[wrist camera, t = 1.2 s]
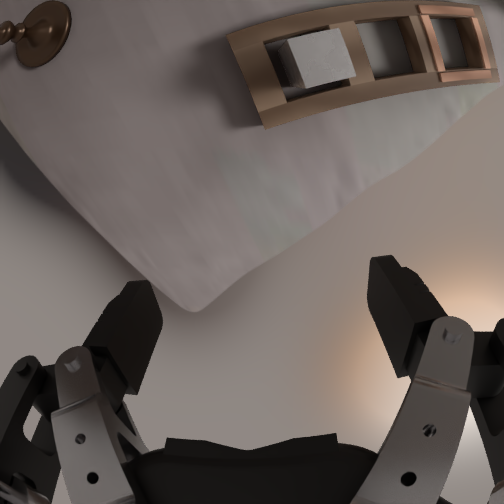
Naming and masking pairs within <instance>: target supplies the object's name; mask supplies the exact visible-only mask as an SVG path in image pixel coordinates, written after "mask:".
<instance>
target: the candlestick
mask: <svg viewBox="0 0 504 504" xmlns="http://www.w3.org/2000/svg"><path fill="white" fill-rule="evenodd" d="M71 20H72V18H71V12H70V10H69V8H68V6H67V5H66V4H64V3H63V2H59V1H55V0H52V1H46V2H43V3H42V4H40V5H38V6H37V7H35V8H34V9H33V10H32V11H31V12H30V13H29V14H28V15H27V17H26V18H25V19H24V21H23V23H18V24H17V25H15V26H14V24H13V23H12V22H11V21H5V22H3V23H2V24H1V25H0V45H3V44H5V43H6V42H8V41H9V40H10V39H11V41H12V42H13V43H16V54H17V57H18V59H19V61H20V62H21V63H22V64H23V65H25V66H27V67H37V66H42V65H44V64H46V63H48V62H49V61H51V60H52V59H53V58H54V57H55V56H56V55H57V54H58V53H59V52H60V50H61V49H62V47H63V46H64V44H65V42H66V40H67V38H68V35H69V32H70V28H71Z"/></svg>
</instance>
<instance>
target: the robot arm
mask: <svg viewBox="0 0 504 504" xmlns="http://www.w3.org/2000/svg"><path fill="white" fill-rule="evenodd" d="M367 302H368V307H369V311H370V313H371V315H372V317H373V320H374V322H375V324H376V327H377V329H378V331H379V334H380V336H381V338H382V341H383V343H384V346H385V348H386V350H387V353H388V355H389V358H390V360H391V363H392V365H393V368H394V370H395V373H396V375H397V378H401V377H405V376H409V377H410V379H411V383H410V386H409V388H408V391H407V393H406V396H405V398H404V400H403V403H402V405H401V407H400V409H399V412H398V414H397V416H396V418H395V420H394V422H393V425H392V426H391V429H390V431H389V433H388V434H387V436H386V439H385V440H384V442H383V444H382V446H381V448H380V449H379V451H378V453H375V452H373V451H371V450H368V449H366V448H363V447H359V446H355V445H350V444H342V443H338V441H337V435H336V433H333V434H327V435H319V436H311V437H302V438H293V439H290V440H286V441H283V442H279V443H276V444H272V445H269V446H265V447H261V448H257V449H253V450H241V449H237V448H233V447H229V446H224V445H220V444H216V443H212V442H209V441H205V440H188V439H175V438H167V439H166V444H165V448H162V449H157V450H153V451H149V450H148V448H147V447H146V446H145V445H144V443H143V441H142V439H141V437H140V435H139V432H138V430H137V428H136V426H135V424H134V422H133V420H132V417H131V415H130V413H129V410H128V408H127V406H126V404H125V402H124V401H123V397H124V395H125V394H132V395H137V394H138V392H139V389H140V386H141V383H142V380H143V378H144V375H145V372H146V369H147V367H148V364H149V361H150V359H151V356H152V353H153V351H154V348H155V345H156V342H157V340H158V337H159V335H160V332H161V330H162V326H163V318H162V313H161V310H160V308H159V305H158V302H157V300H156V297H155V294H154V292H153V289H152V286H151V284H150V282H149V281H148V280H139V281H129V282H127V284H126V285H125V287H124V288H123V290H122V291H121V293H120V295H118V296H116V297H115V298H114V299H113V300H112V301H110V302H109V303H108V305H107V306H106V308H105V309H104V311H103V314H101V316H100V317H99V319H98V322H96V323H95V325H94V327H93V328H92V330H91V332H90V333H89V335H88V337H87V338H86V340H85V342H84V343H83V345H82V346H76V347H72V348H70V349H68V350H66V351H65V352H63V353H62V354H61V355H60V356H59V358H58V359H57V361H56V363H55V364H53V365H48V366H42V365H41V364H40V362H39V361H38V359H37V358H36V357H34V356H25V357H23V358H21V359H20V360H18V361H17V362H16V363H15V364H14V366H13V367H12V369H11V370H10V372H9V374H8V375H7V377H6V379H5V380H4V382H3V384H2V386H1V388H0V504H51V503H52V499H53V495H54V491H55V488H56V484H57V480H58V477H59V473H60V469H62V473H63V477H64V480H65V484H66V487H67V490H68V493H69V497H70V500H71V503H72V504H452V503H450V502H448V501H447V500H445V499H444V498H442V497H440V494H441V491H442V489H443V486H444V484H445V482H446V479H447V477H448V474H449V472H450V469H451V466H452V463H453V461H454V458H455V455H456V452H457V449H458V446H459V442H460V439H461V436H462V432H463V429H464V425H465V421H466V417H467V413H468V409H469V405H470V407H471V410H472V412H473V415H474V418H475V421H476V424H477V426H478V429H479V432H480V435H481V438H482V441H483V444H484V448H485V451H486V454H487V457H488V461H489V464H490V468H491V472H492V476H493V480H494V484H495V487H494V488H493V490H492V492H491V495H490V498H489V501H488V503H487V504H504V318H503V319H500V320H499V321H498V322H497V324H496V327H495V329H494V331H493V332H474V331H473V330H472V328H471V326H470V325H469V324H468V323H467V322H465V321H464V320H462V319H460V318H457V317H453V316H448V315H447V314H446V313H445V311H444V310H443V308H442V307H441V305H440V304H439V303H438V301H437V300H436V298H435V297H434V295H433V294H432V293H431V292H429V289H428V287H427V286H426V285H425V284H424V282H423V281H422V279H421V278H420V277H419V276H418V274H417V273H415V272H414V271H412V270H411V269H409V268H407V267H401V266H400V264H399V263H398V262H397V261H396V259H395V258H394V257H393V256H392V255H386V256H378V257H372V258H371V260H370V267H369V279H368V291H367ZM32 405H33V406H34V407H35V408H36V409H37V411H38V412H39V413H40V414H41V415H42V416H41V418H40V421H39V423H38V425H37V428H36V430H35V433H34V435H33V438H32V440H31V442H30V441H29V440H28V439H27V438H26V437H25V435H24V433H23V425H24V423H25V420H26V418H27V416H28V413H29V411H30V409H31V407H32Z"/></svg>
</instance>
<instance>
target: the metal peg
mask: <svg viewBox="0 0 504 504" xmlns="http://www.w3.org/2000/svg"><path fill="white" fill-rule="evenodd" d="M278 55H279V57H280V60H281V62H282V65H283V67H284V70H285V72H286V75H287V77H288V80H289V82H290V85H291V87H296V88H305V89H307V88H310V87H314V86H318V85H322V84H325V83H329V82H334V81H338V80H342V79H346V78H351V77H356V73H355V70H354V67H353V64H352V61H351V58H350V56H349V53H348V50H347V47H346V45H345V42H344V39H343V37H342V34H341V32H340V29H339V28H336V29H330V30H325V31H320V32H316V33H311V34H307V35H303V36H299V37H295V38H291V39H287V40H286V41H285V43H284V44H283V45H282V47H281V48H280V49H279V51H278Z"/></svg>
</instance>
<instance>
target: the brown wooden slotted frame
mask: <svg viewBox="0 0 504 504" xmlns="http://www.w3.org/2000/svg"><path fill="white" fill-rule="evenodd" d="M430 19H455V22H456V25H457V28H458V31H459V34H460V37H461V41H462V44H463V48H464V51H465V55H466V59H467V63H468V67H456V68H445V67H444V63H443V59H442V55H441V52H440V48H439V45H438V42H437V39H436V35H435V32H434V29H433V27H432V24H431V21H430ZM387 20H397V22H398V25H399V28H400V31H401V33H402V36H403V39H404V42H405V45H406V48H407V51H408V55H409V58H410V61H411V65H412V68H413V72H409V73H402V74H395V75H389V76H384V77H378V78H374V76H373V72H372V69H371V66H370V63H369V60H368V57H367V54H366V51H365V48H364V46H363V43H362V40H361V37H360V35H359V32H358V30H357V27H356V24H360V23H367V22H376V21H387ZM336 28H339V29H340V32H341V34H342V37H343V39H344V42H345V45H346V47H347V50H348V53H349V56H350V58H351V61H352V64H353V67H354V70H355V73H356V77H351V78H346V79H342V80H341V83H342V85H340V86H336V87H332V88H328V89H324V90H320V91H317V92H313V93H309V94H306V95H302V96H299V97H295V98H292V99H289V100H286V98H285V96H284V93H283V90H282V88H281V85H280V83H279V80H278V78H277V75H276V73H275V70H274V68H273V65H272V63H271V60H270V58H269V55H268V53H267V51H266V48H265V46H264V45H265V44H268V43H272V42H275V41H279V40H282V39H286V38H290V37H293V36H297V35H301V34H306V33H310V32H314V31H319V30H322V31H325V30H330V29H336ZM226 37H227V39H228V42H229V44H230V46H231V48H232V51H233V53H234V55H235V57H236V60H237V62H238V64H239V67H240V69H241V71H242V74H243V76H244V79H245V81H246V83H247V86H248V88H249V91H250V93H251V95H252V98H253V100H254V103H255V105H256V108H257V110H258V113H259V115H260V118H261V121H262V123H263V126H264V128H265V130H266V129H269V128H272V127H275V126H278V125H281V124H284V123H287V122H290V121H293V120H297V119H300V118H303V117H307V116H310V115H313V114H317V113H320V112H324V111H328V110H331V109H335V108H339V107H343V106H347V105H351V104H355V103H359V102H364V101H368V100H373V99H377V98H382V97H387V96H392V95H397V94H402V93H408V92H414V91H420V90H426V89H433V88H440V87H448V86H457V85H467V84H478V83H493V82H500V80H499V75H498V70H497V65H496V61H495V56H494V52H493V48H492V45H491V41H490V37H489V34H488V31H487V27H486V24H485V21H484V18H483V15H482V12H481V9H480V7H479V6H478V5H471V4H463V3H453V2H441V1H382V2H369V3H358V4H350V5H342V6H336V7H329V8H324V9H318V10H313V11H308V12H303V13H299V14H294V15H290V16H286V17H282V18H278V19H275V20H271V21H267V22H264V23H261V24H257V25H254V26H251V27H248V28H245V29H242V30H239V31H236V32H233V33H230V34H228V35H226Z"/></svg>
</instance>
